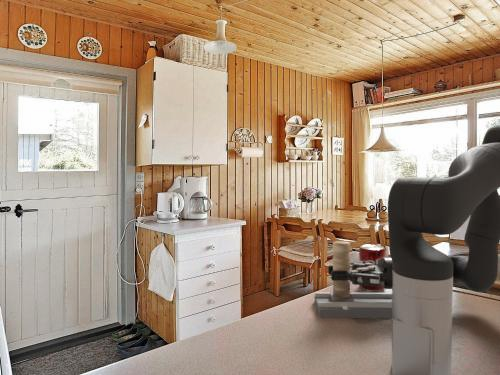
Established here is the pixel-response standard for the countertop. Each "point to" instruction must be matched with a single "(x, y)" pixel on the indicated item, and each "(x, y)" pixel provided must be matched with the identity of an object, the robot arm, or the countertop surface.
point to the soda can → (371, 261)
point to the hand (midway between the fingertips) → (330, 272)
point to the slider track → (355, 306)
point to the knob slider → (341, 264)
